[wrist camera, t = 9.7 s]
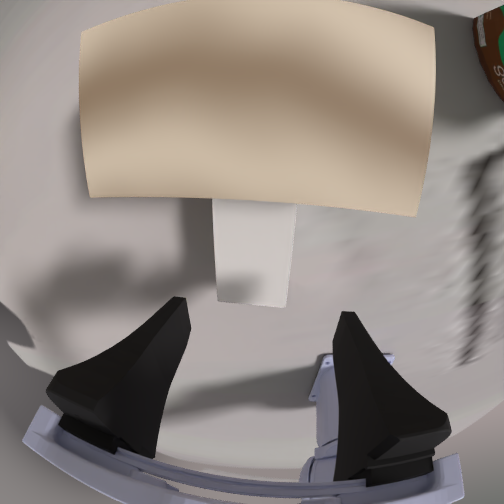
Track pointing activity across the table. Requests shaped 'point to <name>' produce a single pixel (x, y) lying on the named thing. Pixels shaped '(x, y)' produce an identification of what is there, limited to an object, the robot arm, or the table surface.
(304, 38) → the cubby
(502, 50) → the food container
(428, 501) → the robot arm
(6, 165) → the table surface
